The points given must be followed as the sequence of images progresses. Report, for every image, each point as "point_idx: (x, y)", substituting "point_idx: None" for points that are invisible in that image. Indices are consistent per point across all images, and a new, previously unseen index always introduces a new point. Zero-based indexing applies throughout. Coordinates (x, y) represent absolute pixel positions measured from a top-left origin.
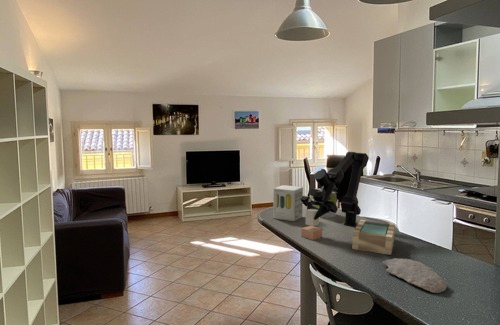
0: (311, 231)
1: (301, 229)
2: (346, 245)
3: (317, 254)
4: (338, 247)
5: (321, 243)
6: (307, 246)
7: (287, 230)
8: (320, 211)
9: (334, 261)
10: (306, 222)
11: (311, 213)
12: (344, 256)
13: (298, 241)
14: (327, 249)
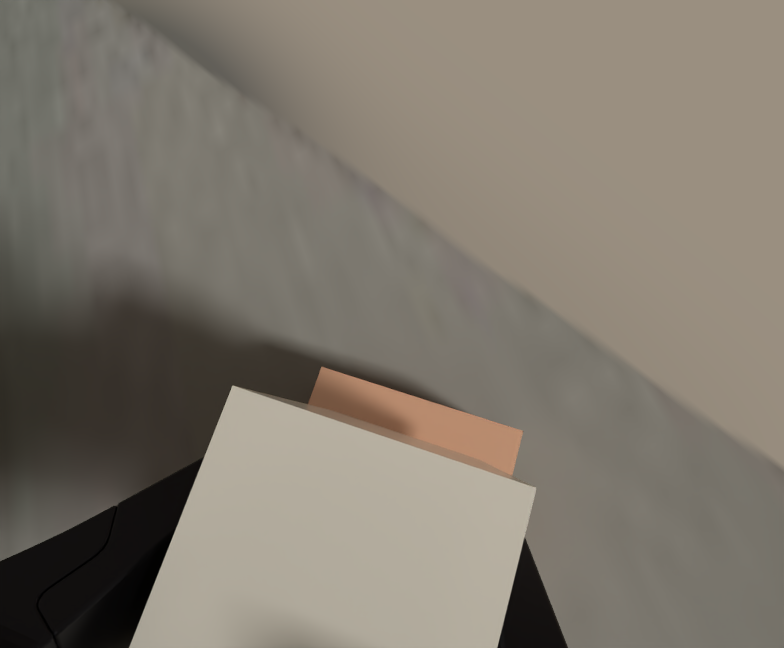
0: (348, 376)
1: (517, 430)
2: (2, 407)
3: (202, 72)
4: (69, 309)
5: (234, 329)
6: (326, 184)
7: (780, 589)
8: (41, 564)
9: (69, 26)
10: (461, 454)
11: (323, 414)
12: (9, 141)
13: (453, 261)
14: (152, 209)
